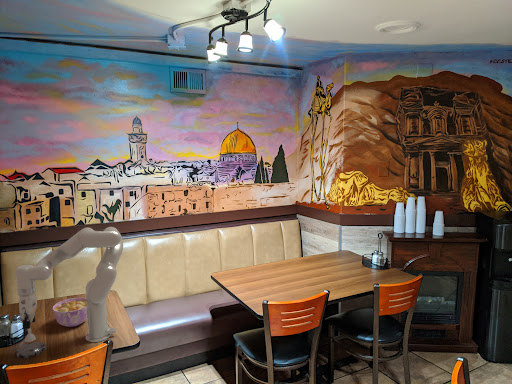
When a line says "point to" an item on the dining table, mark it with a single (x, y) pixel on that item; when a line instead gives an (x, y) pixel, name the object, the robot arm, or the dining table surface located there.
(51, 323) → the dining table surface
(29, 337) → the chalice
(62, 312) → the bowl of food
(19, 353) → the gear trivet
